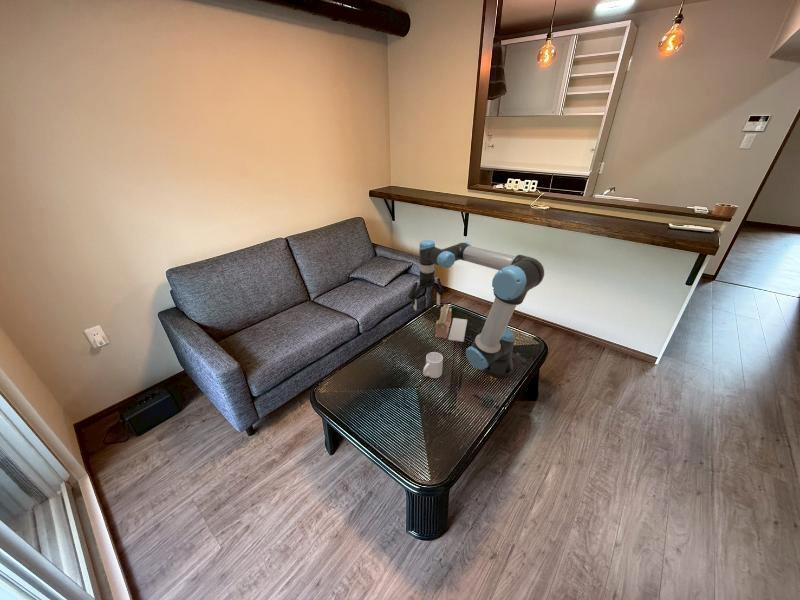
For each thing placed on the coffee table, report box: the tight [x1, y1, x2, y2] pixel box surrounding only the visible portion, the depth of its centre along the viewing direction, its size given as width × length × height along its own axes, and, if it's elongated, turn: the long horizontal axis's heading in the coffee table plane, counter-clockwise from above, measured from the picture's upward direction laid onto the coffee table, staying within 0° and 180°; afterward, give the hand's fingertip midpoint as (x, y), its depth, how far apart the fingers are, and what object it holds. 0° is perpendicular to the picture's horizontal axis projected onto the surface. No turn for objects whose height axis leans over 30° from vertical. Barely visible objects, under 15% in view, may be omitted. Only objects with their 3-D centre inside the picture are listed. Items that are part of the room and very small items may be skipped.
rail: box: [438, 304, 451, 329], centre depth 186 cm, size 4×22×4 cm, turn 164°
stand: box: [434, 306, 453, 339], centre depth 188 cm, size 7×21×9 cm, turn 164°
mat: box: [447, 317, 468, 343], centre depth 187 cm, size 9×24×1 cm, turn 164°
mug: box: [422, 351, 444, 379], centre depth 151 cm, size 12×8×10 cm
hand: (426, 306), depth 164 cm, fingers open, 13 cm apart
